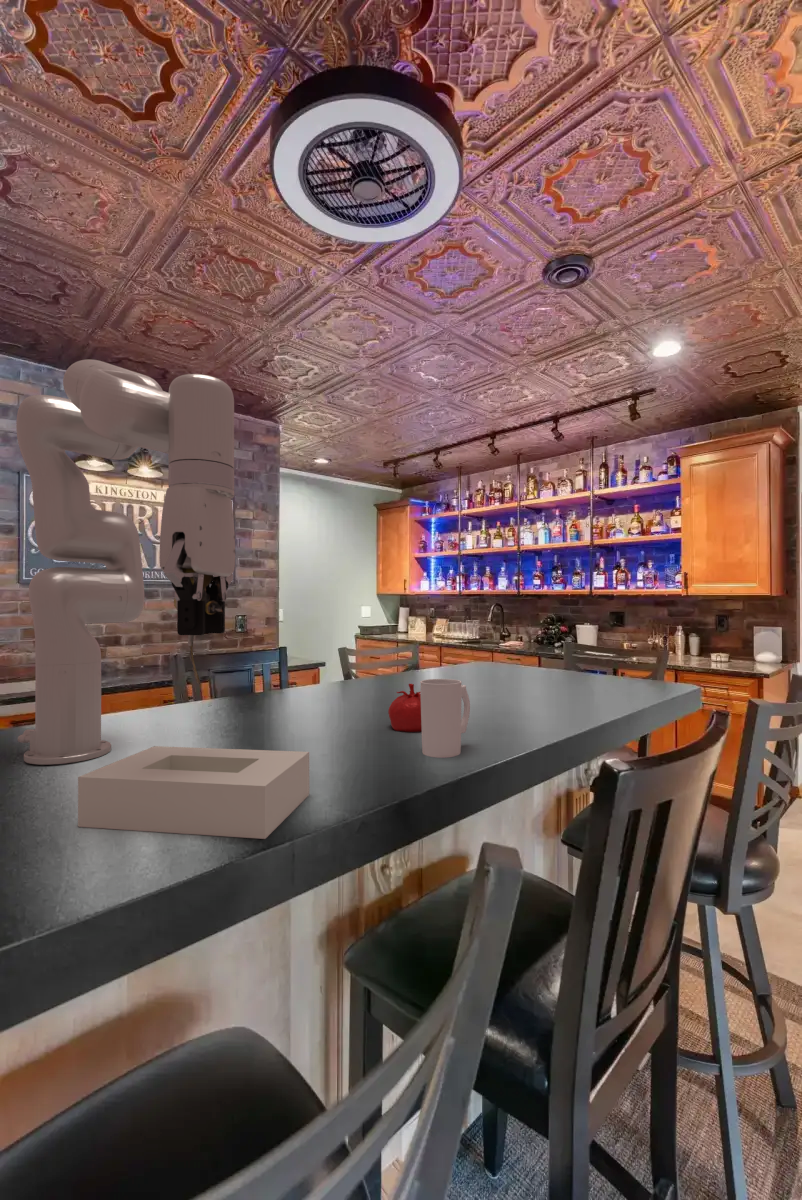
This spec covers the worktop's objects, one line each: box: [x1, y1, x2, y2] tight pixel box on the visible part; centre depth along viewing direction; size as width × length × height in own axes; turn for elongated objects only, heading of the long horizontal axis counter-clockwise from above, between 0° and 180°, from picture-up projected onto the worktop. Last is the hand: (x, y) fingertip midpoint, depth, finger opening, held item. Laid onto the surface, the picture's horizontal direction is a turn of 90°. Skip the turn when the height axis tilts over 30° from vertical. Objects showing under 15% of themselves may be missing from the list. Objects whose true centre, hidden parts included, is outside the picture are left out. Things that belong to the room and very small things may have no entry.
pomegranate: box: [387, 683, 422, 733], centre depth 109 cm, size 10×10×9 cm
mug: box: [419, 678, 471, 759], centre depth 92 cm, size 10×7×12 cm, turn 129°
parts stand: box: [77, 745, 310, 840], centre depth 67 cm, size 22×14×6 cm, turn 80°
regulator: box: [173, 569, 223, 685], centre depth 67 cm, size 8×4×15 cm, turn 62°
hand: (201, 632), depth 67 cm, fingers closed on regulator, 4 cm apart
